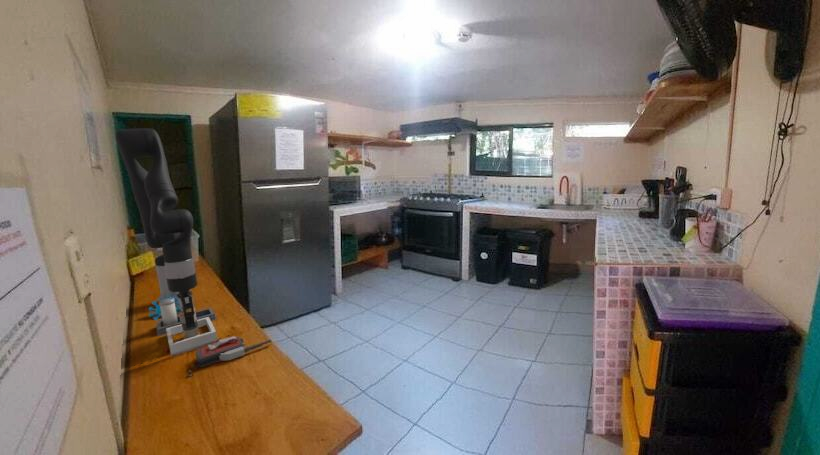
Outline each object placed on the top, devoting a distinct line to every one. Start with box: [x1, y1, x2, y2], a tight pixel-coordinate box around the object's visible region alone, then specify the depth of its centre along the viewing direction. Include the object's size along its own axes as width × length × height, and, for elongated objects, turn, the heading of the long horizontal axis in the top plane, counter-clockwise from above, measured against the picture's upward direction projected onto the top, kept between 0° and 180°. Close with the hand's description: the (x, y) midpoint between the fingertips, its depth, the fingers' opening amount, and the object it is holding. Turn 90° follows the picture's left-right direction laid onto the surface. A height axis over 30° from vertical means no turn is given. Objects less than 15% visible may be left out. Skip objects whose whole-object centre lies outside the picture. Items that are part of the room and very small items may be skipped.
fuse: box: [158, 298, 178, 327], centre depth 109 cm, size 4×4×10 cm
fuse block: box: [156, 307, 217, 337], centre depth 113 cm, size 17×9×3 cm, turn 130°
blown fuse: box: [178, 306, 201, 340], centre depth 102 cm, size 4×4×10 cm
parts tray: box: [166, 317, 219, 357], centre depth 103 cm, size 14×12×4 cm
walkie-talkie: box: [193, 335, 273, 368], centre depth 95 cm, size 9×4×20 cm
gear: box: [148, 296, 181, 321], centre depth 121 cm, size 11×6×10 cm
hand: (189, 322), depth 102 cm, fingers open, 8 cm apart
